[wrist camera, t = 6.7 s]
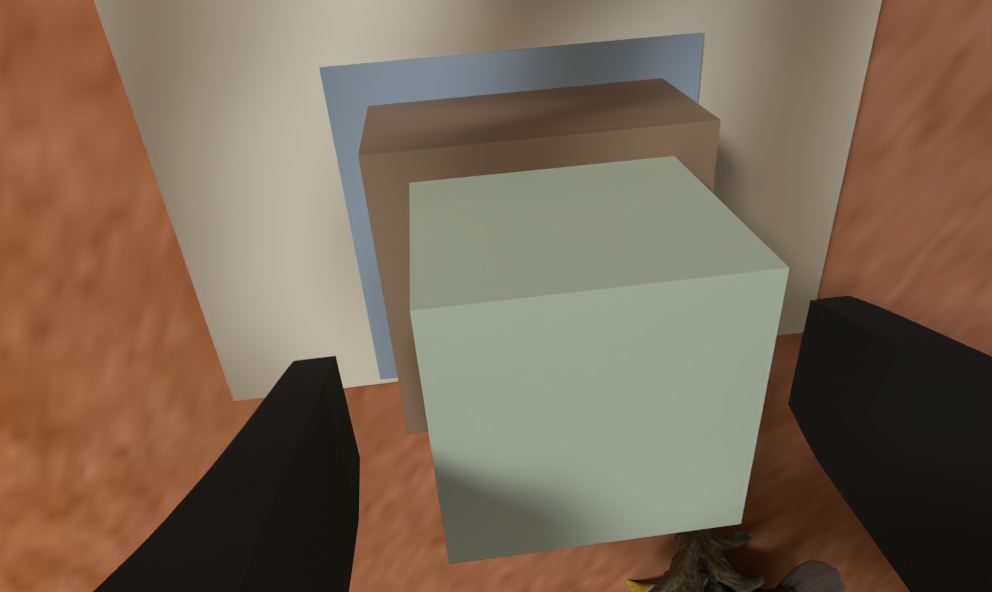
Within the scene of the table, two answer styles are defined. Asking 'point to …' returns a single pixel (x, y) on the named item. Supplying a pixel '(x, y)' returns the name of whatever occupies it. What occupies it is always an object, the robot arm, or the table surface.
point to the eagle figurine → (731, 569)
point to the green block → (588, 353)
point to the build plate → (439, 75)
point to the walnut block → (508, 164)
